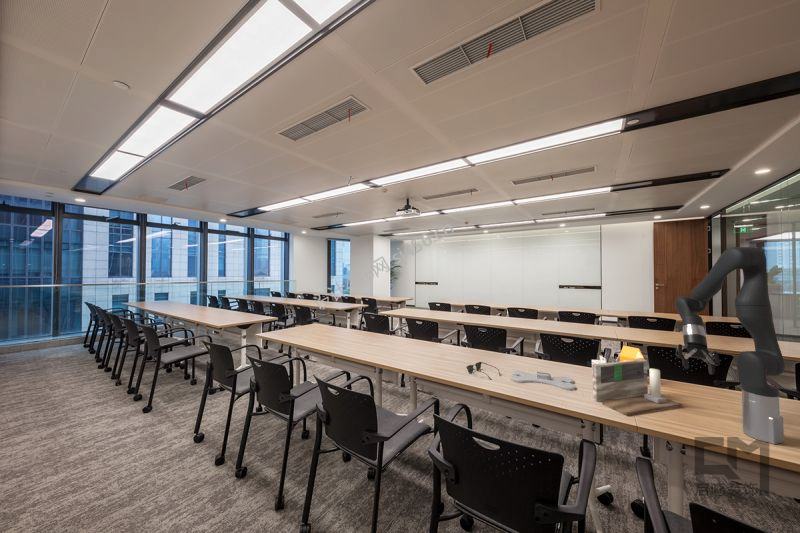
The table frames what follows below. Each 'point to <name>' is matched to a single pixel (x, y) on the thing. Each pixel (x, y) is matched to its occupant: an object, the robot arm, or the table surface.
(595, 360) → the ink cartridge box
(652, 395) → the white cylinder on base
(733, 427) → the table surface
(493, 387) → the table surface
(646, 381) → the base
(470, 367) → the sunglasses
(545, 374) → the holder
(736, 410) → the table surface
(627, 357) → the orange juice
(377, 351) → the table surface
